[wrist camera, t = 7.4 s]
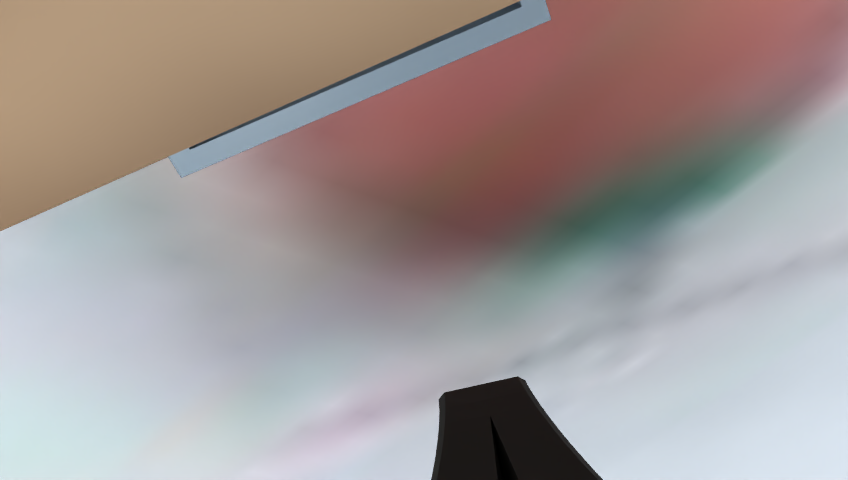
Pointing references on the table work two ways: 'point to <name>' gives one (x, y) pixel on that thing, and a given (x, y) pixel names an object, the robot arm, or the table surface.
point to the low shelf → (174, 77)
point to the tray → (365, 84)
